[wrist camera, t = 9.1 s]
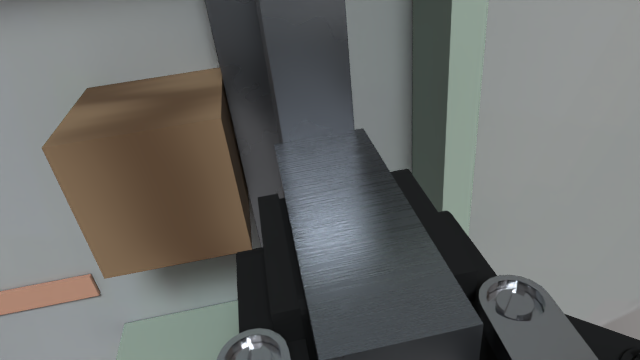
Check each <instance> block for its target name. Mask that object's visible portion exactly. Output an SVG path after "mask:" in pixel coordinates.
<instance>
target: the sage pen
mask: <svg viewBox="0 0 640 360" xmlns="http://www.w3.org/2000/svg"><path fill="white" fill-rule="evenodd" d="M488 2H489V0H413V89H412V175H413V176H414V178H415V179H416V181H417V182H418V183H419V185H420V186H421V188H422V189H423V191H424V192H425V194H426V195H427V196H428V198H429V199H430V201H431V202H432V204H433V205H434V207H435V208H436V209H437V211H438V212H441V211H449V212H450V213H451V214H452V215H453V216H454V218H455V219H456V220H457V222H458V223H459V224H460V226H461V227H462V229H463V230H464V231H465V233H466V234H467V235H469V223H470V211H471V200H472V188H473V176H474V165H475V153H476V141H477V130H478V118H479V107H480V95H481V83H482V72H483V60H484V48H485V37H486V25H487V14H488ZM237 334H239V319H238V300H237V301H232V302H228V303H223V304H218V305H213V306H208V307H203V308H198V309H193V310H189V311H184V312H179V313H174V314H169V315H164V316H159V317H154V318H150V319H145V320H140V321H135V322H130V323H125V324H124V329H123V333H122V337H121V341H120V345H119V349H118V353H117V358H116V360H217V357H218V355H219V353H220V351H221V349H222V347H223V346H224V345H225V344H226V343H227V342H228V341H229V340H230V339H231V338H233V337H234V336H236V335H237Z"/></svg>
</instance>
